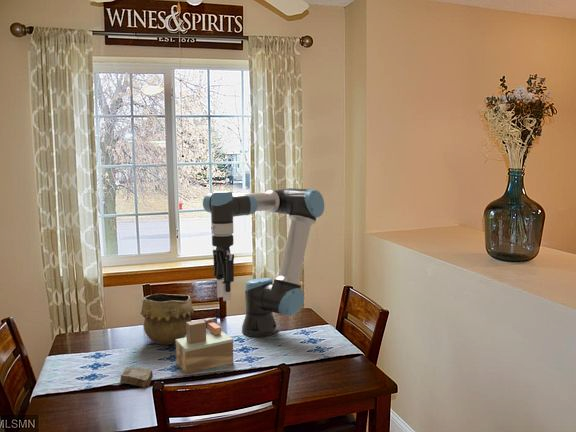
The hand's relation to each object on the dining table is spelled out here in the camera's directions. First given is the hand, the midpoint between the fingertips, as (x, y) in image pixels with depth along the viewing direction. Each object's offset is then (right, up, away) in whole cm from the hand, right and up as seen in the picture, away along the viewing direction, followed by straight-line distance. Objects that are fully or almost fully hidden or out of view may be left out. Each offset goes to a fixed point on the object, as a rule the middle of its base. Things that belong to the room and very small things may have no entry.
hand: (224, 298), depth 178 cm
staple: (-7, -23, +15) cm, 29 cm away
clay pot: (-26, -22, +24) cm, 42 cm away
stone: (-29, -27, -9) cm, 40 cm away
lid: (-8, -17, +3) cm, 18 cm away
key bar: (-6, -14, +12) cm, 20 cm away
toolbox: (-8, -24, +4) cm, 26 cm away
